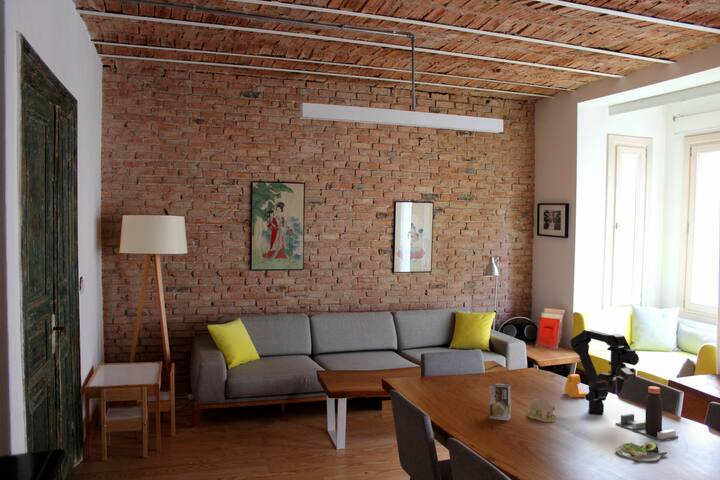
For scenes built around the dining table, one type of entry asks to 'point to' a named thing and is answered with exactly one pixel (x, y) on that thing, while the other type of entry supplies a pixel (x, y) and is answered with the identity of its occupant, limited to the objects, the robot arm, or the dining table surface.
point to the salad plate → (641, 451)
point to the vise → (659, 436)
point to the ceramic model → (542, 410)
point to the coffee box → (500, 401)
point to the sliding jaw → (632, 421)
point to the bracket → (573, 386)
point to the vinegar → (653, 411)
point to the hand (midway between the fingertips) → (616, 393)
